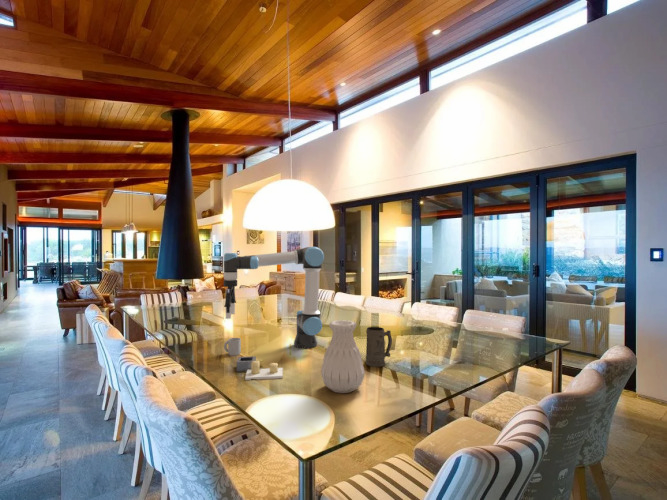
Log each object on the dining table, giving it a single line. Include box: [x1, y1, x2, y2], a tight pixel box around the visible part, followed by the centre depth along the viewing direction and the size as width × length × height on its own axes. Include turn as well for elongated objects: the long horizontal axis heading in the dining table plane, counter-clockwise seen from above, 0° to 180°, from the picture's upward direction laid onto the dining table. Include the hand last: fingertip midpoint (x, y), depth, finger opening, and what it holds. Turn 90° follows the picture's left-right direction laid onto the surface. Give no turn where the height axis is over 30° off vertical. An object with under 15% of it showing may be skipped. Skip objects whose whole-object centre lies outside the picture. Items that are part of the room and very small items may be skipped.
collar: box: [236, 355, 257, 373], centre depth 190 cm, size 9×9×5 cm
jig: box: [244, 360, 284, 381], centre depth 180 cm, size 18×12×7 cm, turn 98°
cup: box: [223, 337, 242, 357], centre depth 216 cm, size 7×10×9 cm
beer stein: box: [365, 326, 393, 368], centre depth 199 cm, size 15×11×20 cm
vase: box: [320, 319, 366, 394], centre depth 163 cm, size 20×20×30 cm
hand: (230, 316), depth 208 cm, fingers open, 13 cm apart
